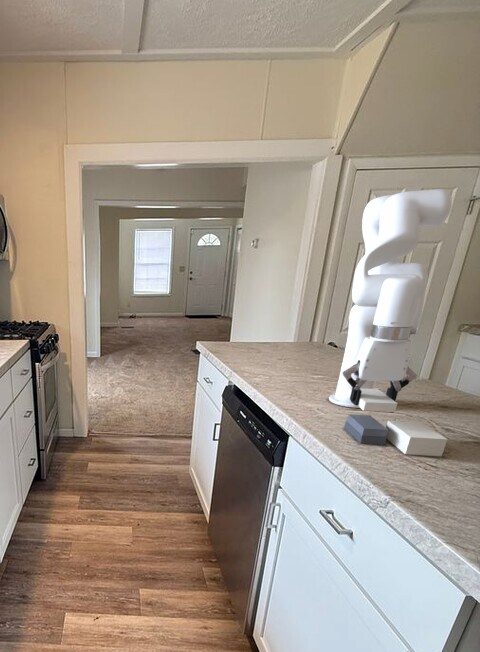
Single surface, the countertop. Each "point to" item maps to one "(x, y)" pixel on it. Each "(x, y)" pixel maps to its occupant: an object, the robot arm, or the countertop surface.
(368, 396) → the white book
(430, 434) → the white books
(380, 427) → the grey books
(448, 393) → the countertop surface
